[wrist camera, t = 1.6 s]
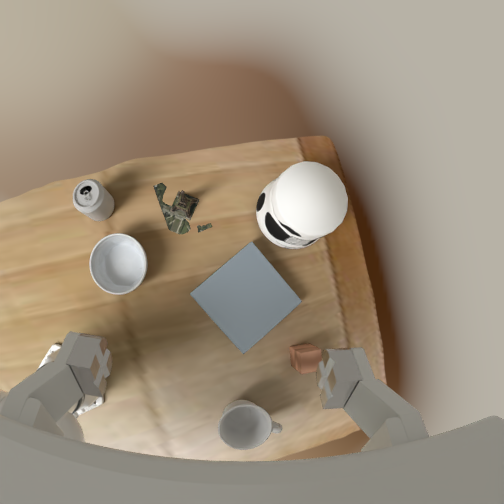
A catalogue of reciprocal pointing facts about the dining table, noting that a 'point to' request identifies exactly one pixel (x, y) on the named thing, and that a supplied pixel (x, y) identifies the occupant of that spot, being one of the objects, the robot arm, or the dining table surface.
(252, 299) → the plinth
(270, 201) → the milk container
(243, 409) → the teacup
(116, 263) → the ramekin
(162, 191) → the eiffel tower figurine
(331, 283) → the dining table surface
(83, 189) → the can
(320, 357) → the terracotta block
